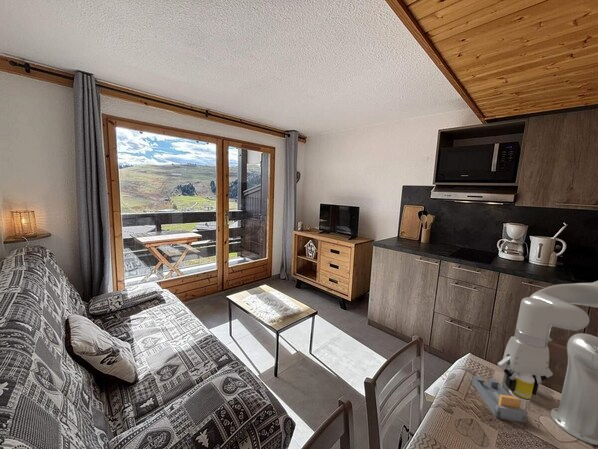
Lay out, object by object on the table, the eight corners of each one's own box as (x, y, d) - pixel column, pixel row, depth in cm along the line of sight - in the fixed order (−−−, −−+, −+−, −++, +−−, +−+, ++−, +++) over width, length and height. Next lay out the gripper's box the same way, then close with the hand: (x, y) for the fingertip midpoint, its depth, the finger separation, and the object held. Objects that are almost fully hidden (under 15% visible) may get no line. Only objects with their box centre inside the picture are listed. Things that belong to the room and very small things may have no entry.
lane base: (496, 386, 99) (497, 377, 98) (525, 422, 83) (527, 412, 82) (471, 382, 100) (473, 373, 99) (496, 417, 84) (497, 407, 84)
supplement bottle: (535, 403, 77) (541, 375, 76) (515, 400, 78) (520, 371, 77) (523, 390, 82) (528, 363, 81) (504, 387, 83) (509, 360, 82)
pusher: (502, 397, 92) (505, 382, 91) (518, 416, 84) (521, 399, 84) (485, 394, 93) (488, 379, 92) (499, 412, 85) (501, 396, 84)
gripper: (552, 335, 80) (541, 386, 82) (493, 327, 83) (484, 376, 85) (573, 349, 73) (560, 405, 75) (508, 340, 75) (498, 394, 78)
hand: (520, 389), depth 80 cm, fingers closed on supplement bottle, 5 cm apart
